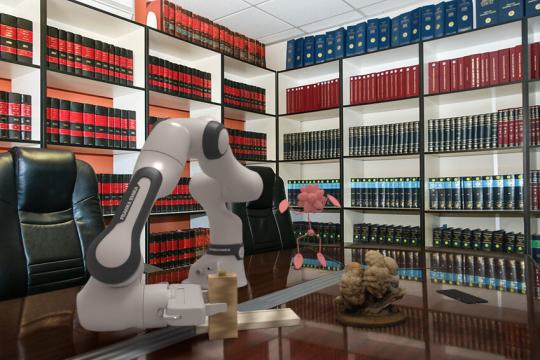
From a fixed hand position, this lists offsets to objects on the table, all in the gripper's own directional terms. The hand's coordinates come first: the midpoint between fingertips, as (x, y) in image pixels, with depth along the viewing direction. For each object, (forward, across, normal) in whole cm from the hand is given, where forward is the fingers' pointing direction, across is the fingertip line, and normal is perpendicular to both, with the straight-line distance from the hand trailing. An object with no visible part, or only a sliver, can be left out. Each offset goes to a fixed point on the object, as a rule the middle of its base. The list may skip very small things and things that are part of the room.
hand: (224, 300), depth 90 cm
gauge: (0, +4, +7) cm, 8 cm away
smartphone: (+71, +15, +8) cm, 73 cm away
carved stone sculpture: (+36, +2, +8) cm, 37 cm away
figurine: (+43, +68, +8) cm, 81 cm away
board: (+6, +7, +7) cm, 12 cm away
